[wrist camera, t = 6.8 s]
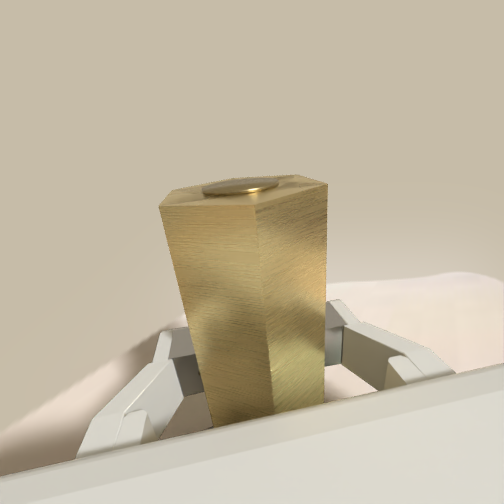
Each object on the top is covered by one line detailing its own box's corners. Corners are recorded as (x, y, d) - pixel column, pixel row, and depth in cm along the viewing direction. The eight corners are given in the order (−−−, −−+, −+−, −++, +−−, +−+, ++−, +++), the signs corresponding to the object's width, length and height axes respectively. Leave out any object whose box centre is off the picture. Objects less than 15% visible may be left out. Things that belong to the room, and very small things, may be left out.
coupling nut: (338, 454, 12) (354, 172, 7) (262, 551, 10) (199, 214, 4) (277, 395, 15) (257, 170, 10) (207, 457, 13) (132, 194, 7)
